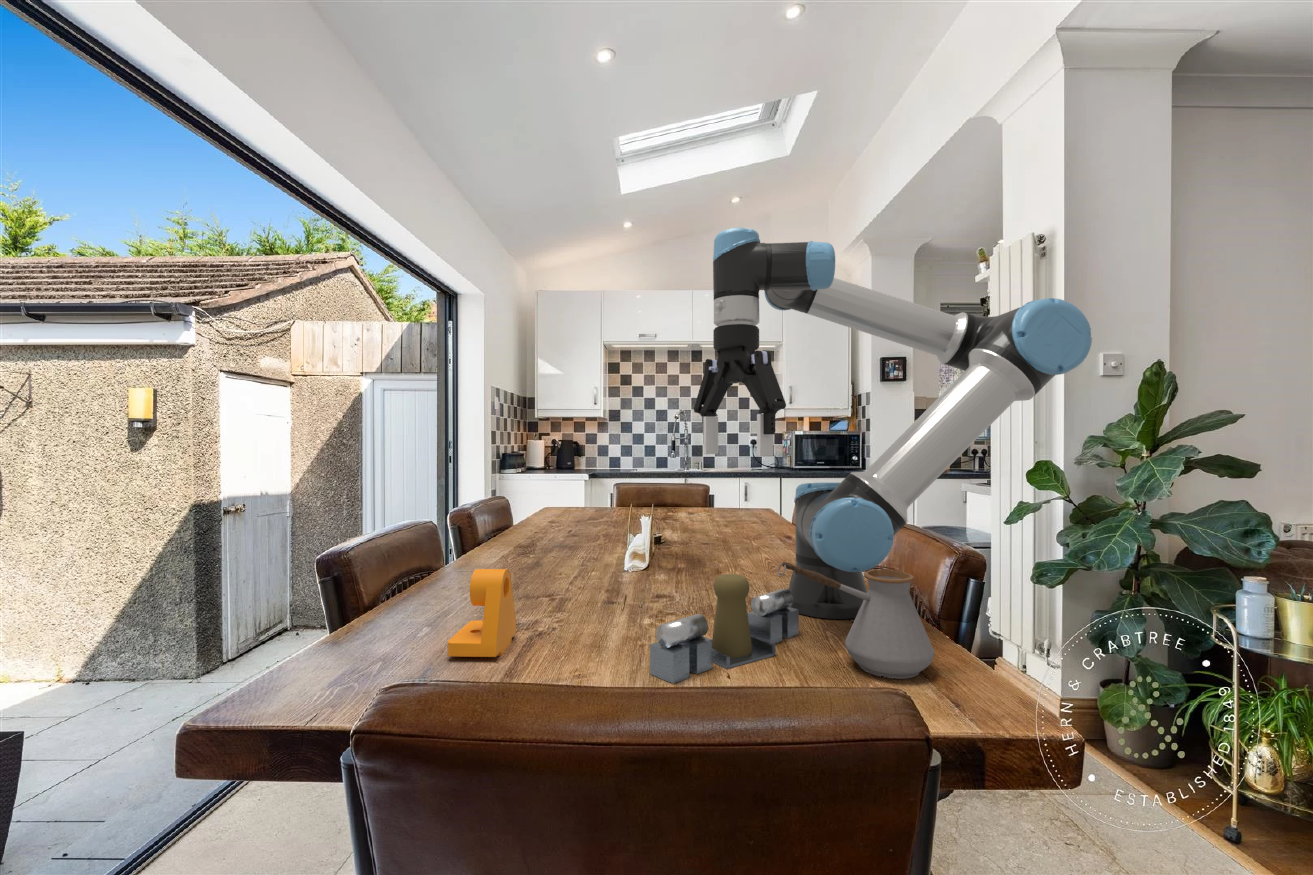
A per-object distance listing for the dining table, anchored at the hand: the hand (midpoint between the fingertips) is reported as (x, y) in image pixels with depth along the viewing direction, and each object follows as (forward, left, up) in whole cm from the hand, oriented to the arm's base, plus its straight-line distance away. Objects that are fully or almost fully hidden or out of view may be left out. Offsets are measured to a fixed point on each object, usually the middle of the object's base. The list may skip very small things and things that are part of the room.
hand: (736, 455), depth 101 cm
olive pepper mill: (+8, +8, -28) cm, 31 cm away
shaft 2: (-2, +6, -29) cm, 29 cm away
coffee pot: (-2, +22, -29) cm, 37 cm away
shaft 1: (+18, +10, -29) cm, 35 cm away
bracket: (+38, -14, -29) cm, 50 cm away
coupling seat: (+8, +8, -29) cm, 31 cm away
